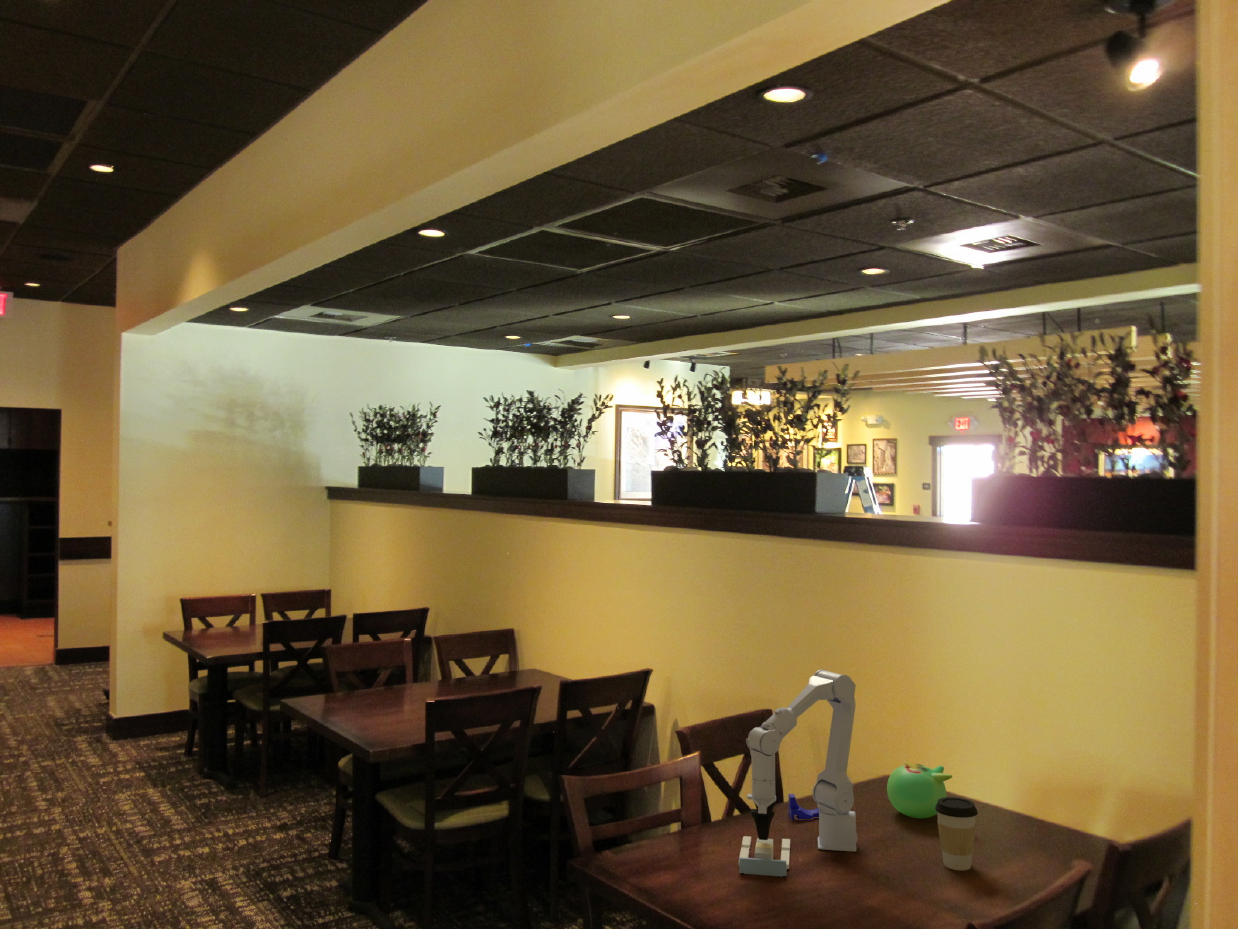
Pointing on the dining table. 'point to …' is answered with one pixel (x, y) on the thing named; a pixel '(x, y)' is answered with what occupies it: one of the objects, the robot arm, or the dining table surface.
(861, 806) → the dining table surface
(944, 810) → the coffee cup
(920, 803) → the toy bird
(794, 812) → the navy blue l-shaped piece
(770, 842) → the banded cream box
